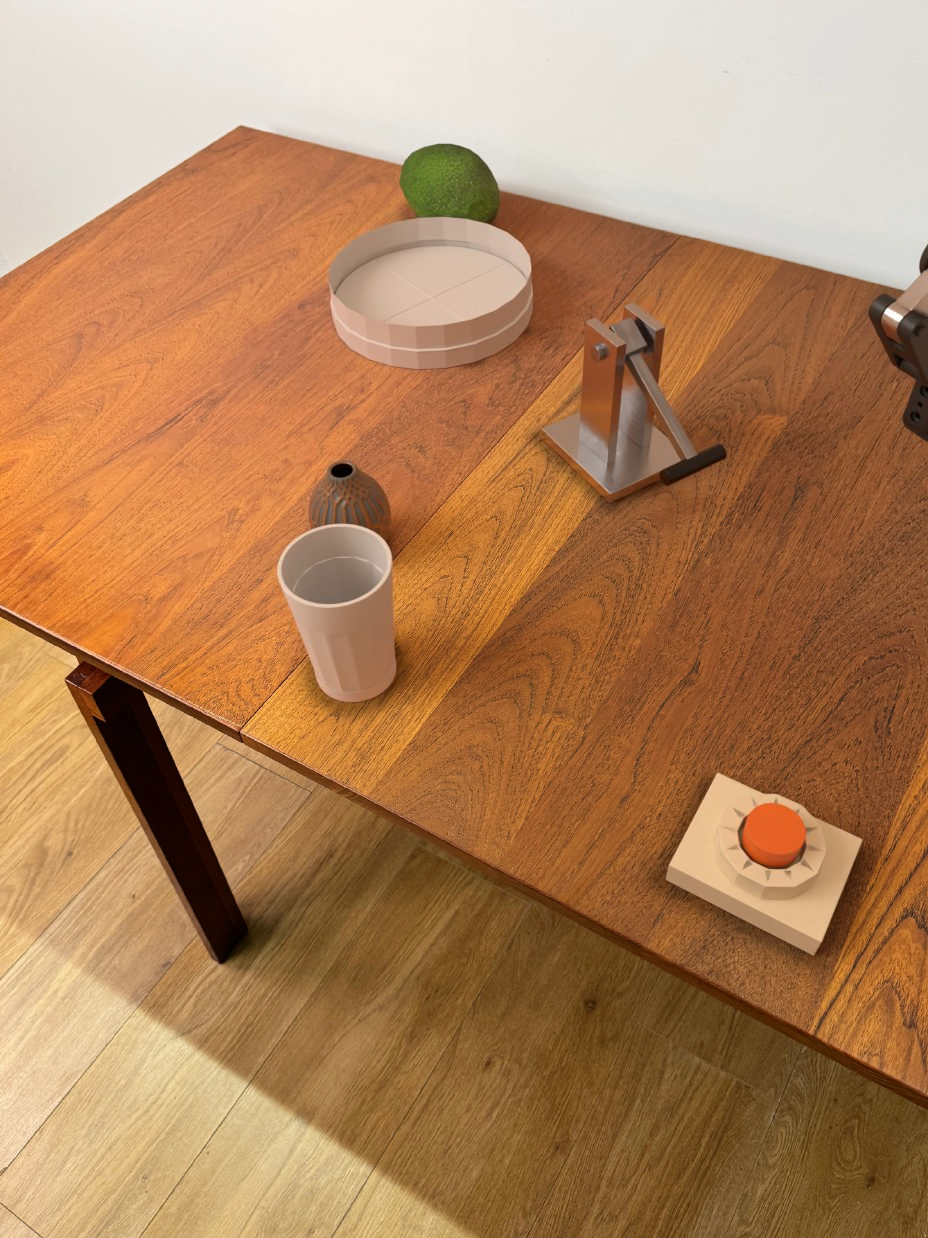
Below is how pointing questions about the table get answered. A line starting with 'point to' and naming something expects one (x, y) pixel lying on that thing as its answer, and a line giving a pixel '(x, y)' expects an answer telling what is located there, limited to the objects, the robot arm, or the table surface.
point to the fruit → (450, 184)
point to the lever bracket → (614, 414)
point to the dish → (431, 292)
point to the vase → (350, 500)
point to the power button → (773, 835)
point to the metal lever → (664, 410)
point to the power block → (763, 867)
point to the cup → (343, 607)
